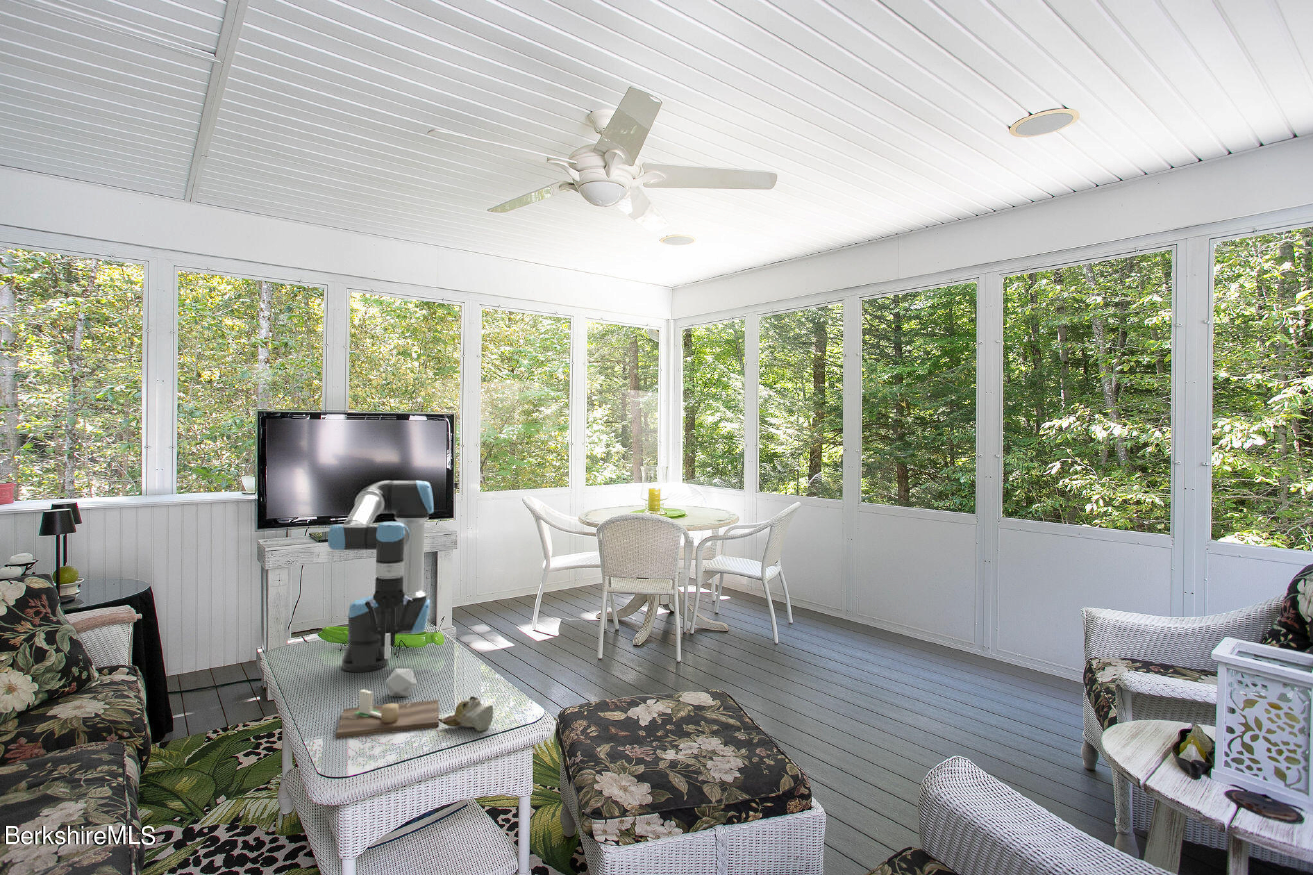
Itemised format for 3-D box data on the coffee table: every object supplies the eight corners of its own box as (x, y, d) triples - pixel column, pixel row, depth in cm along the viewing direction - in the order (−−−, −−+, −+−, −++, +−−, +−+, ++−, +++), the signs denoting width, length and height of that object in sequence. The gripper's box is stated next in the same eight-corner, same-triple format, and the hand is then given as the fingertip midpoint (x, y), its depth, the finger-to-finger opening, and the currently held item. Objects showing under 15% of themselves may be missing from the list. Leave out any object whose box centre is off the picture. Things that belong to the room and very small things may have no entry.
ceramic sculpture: (479, 706, 178) (436, 699, 184) (479, 739, 177) (436, 730, 184) (504, 693, 188) (462, 687, 194) (504, 724, 187) (462, 717, 193)
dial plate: (343, 713, 191) (344, 708, 191) (438, 704, 200) (438, 699, 200) (336, 738, 176) (336, 732, 176) (438, 726, 184) (438, 721, 184)
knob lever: (354, 713, 187) (354, 692, 187) (367, 708, 191) (367, 687, 191) (389, 724, 181) (389, 702, 181) (401, 718, 185) (402, 696, 185)
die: (397, 704, 200) (418, 676, 203) (375, 688, 202) (396, 660, 205) (406, 704, 208) (426, 676, 211) (385, 688, 210) (405, 661, 213)
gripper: (363, 579, 186) (361, 663, 186) (413, 577, 190) (411, 659, 190) (366, 574, 193) (364, 654, 193) (413, 572, 197) (411, 650, 197)
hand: (387, 656), depth 192 cm, fingers closed
